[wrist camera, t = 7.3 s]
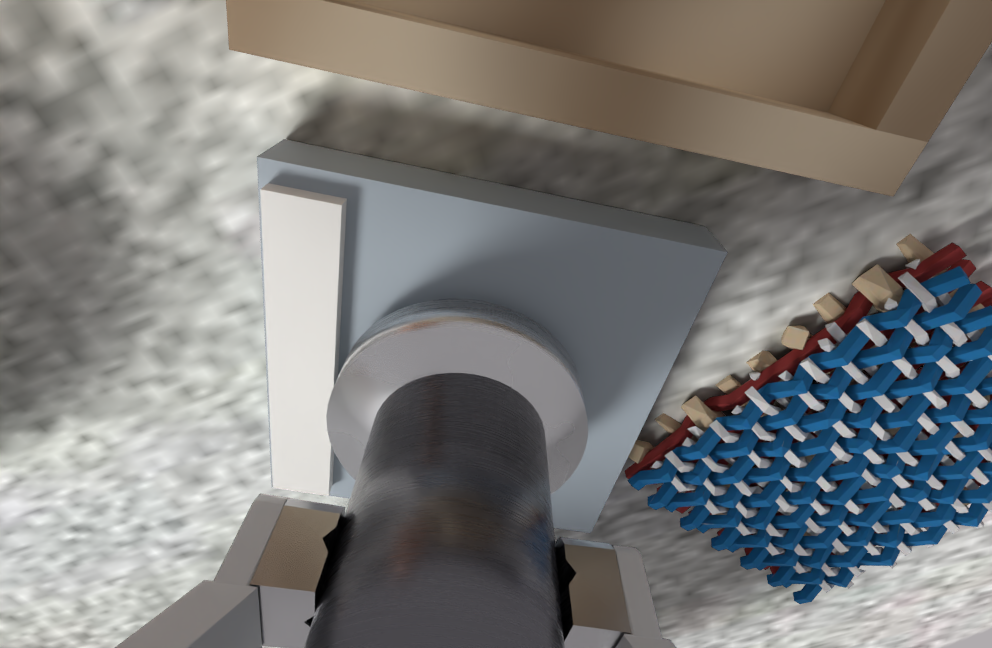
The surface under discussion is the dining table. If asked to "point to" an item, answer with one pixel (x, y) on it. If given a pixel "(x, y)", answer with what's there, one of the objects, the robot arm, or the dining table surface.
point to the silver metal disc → (460, 349)
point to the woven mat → (844, 432)
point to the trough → (665, 68)
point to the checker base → (465, 295)
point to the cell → (446, 526)
